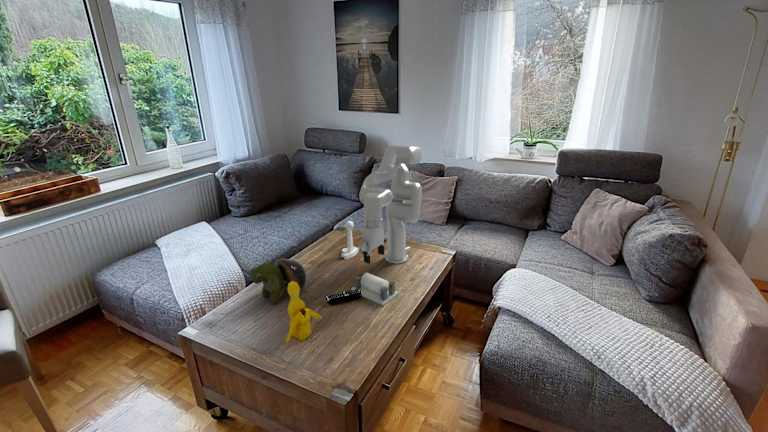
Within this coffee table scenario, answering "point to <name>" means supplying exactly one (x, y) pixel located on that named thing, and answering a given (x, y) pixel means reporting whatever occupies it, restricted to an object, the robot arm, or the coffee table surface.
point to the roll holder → (378, 298)
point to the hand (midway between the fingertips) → (374, 258)
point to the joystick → (349, 243)
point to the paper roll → (374, 283)
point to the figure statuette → (298, 314)
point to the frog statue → (279, 277)
